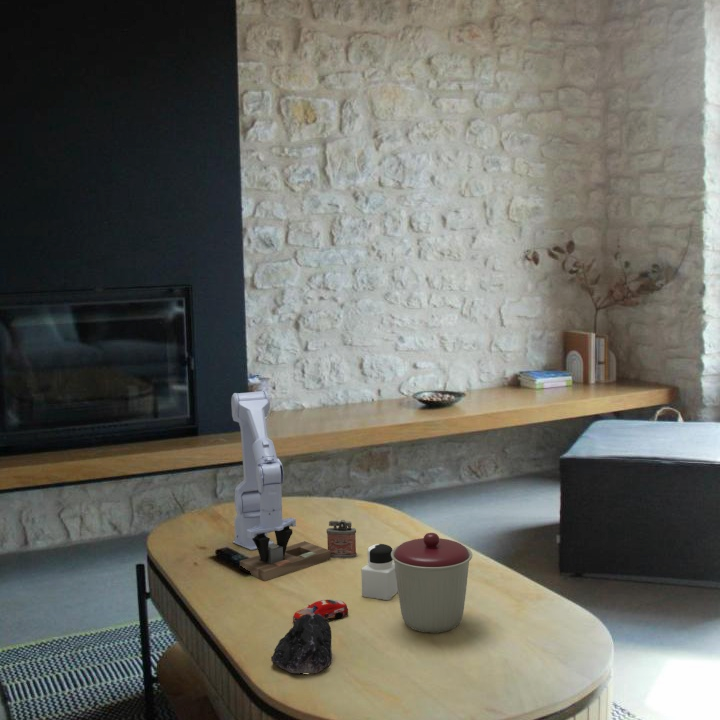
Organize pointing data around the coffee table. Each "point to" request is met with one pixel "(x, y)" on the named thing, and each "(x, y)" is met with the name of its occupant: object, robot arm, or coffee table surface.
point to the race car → (324, 610)
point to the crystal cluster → (305, 646)
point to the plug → (274, 554)
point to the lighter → (341, 539)
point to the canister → (431, 582)
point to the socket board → (287, 561)
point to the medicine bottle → (379, 573)
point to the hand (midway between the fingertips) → (272, 558)
